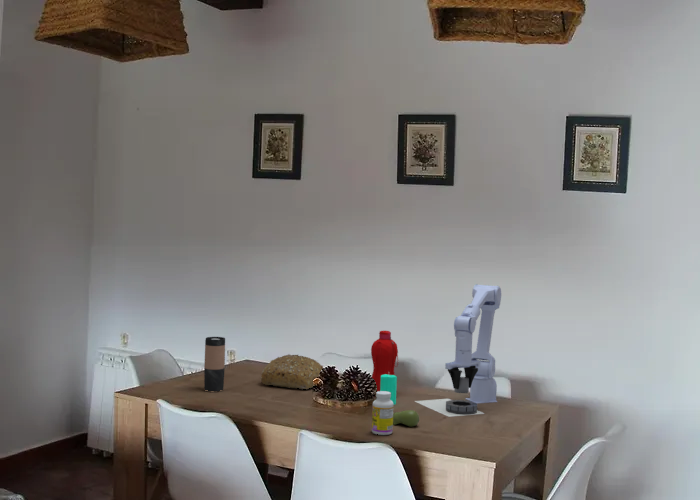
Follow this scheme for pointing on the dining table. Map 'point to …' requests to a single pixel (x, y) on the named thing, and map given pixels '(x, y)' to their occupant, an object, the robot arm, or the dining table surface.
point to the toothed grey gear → (461, 407)
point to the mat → (441, 406)
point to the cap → (463, 385)
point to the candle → (389, 385)
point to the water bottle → (383, 356)
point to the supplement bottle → (382, 414)
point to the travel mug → (214, 363)
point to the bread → (291, 372)
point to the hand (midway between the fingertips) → (462, 387)
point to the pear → (406, 418)
